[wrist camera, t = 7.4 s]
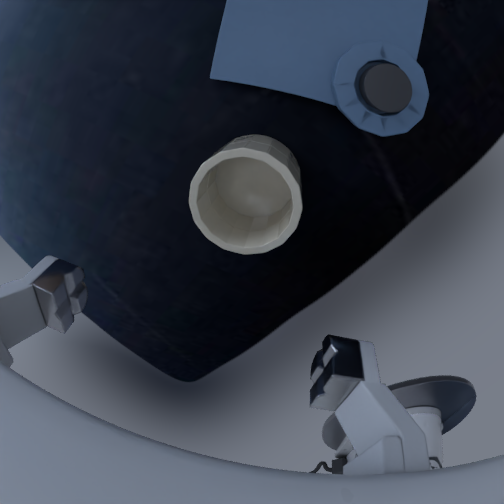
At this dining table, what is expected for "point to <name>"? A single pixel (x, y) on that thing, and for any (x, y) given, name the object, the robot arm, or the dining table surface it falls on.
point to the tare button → (385, 88)
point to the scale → (325, 52)
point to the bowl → (248, 195)
